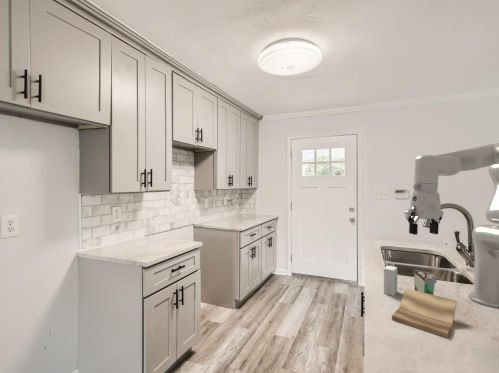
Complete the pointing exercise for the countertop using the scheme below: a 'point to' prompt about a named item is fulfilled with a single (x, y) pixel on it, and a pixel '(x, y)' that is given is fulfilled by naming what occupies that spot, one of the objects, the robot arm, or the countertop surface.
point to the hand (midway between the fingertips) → (423, 233)
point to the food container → (424, 281)
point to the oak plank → (428, 305)
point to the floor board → (422, 322)
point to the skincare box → (390, 280)
